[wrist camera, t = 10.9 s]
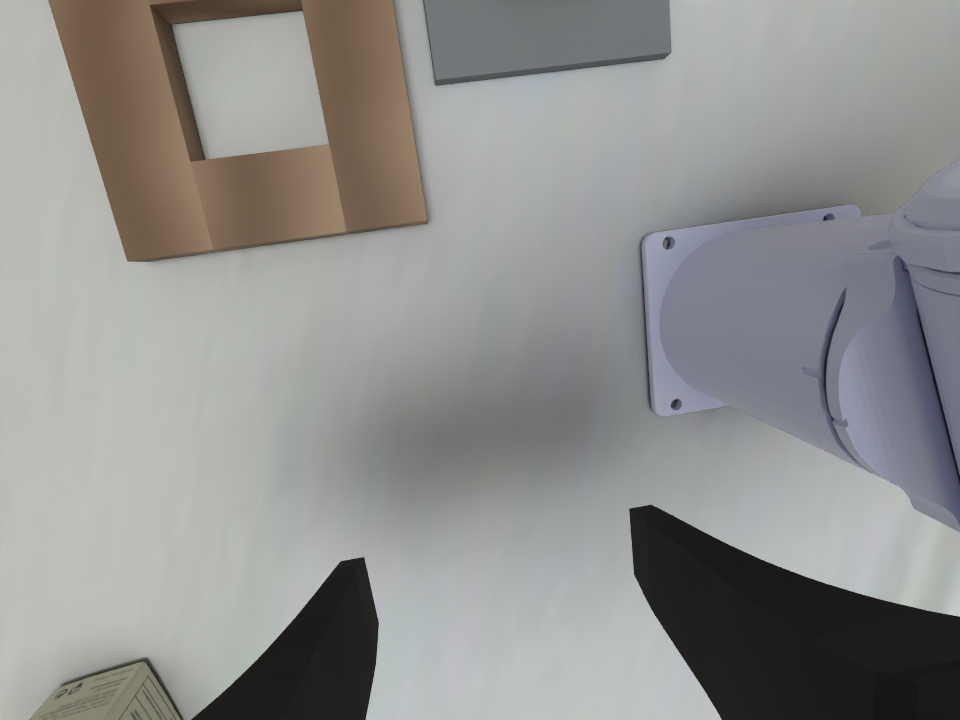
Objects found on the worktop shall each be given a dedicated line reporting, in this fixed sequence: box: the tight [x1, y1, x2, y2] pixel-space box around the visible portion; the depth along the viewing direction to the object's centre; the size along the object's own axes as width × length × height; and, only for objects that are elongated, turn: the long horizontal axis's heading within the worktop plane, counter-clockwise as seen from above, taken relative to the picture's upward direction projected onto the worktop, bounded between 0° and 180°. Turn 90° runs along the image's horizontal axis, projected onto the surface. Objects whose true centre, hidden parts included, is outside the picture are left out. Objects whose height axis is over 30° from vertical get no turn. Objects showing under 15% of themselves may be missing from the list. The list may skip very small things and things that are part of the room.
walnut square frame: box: [49, 0, 428, 262], centre depth 16 cm, size 11×11×1 cm
